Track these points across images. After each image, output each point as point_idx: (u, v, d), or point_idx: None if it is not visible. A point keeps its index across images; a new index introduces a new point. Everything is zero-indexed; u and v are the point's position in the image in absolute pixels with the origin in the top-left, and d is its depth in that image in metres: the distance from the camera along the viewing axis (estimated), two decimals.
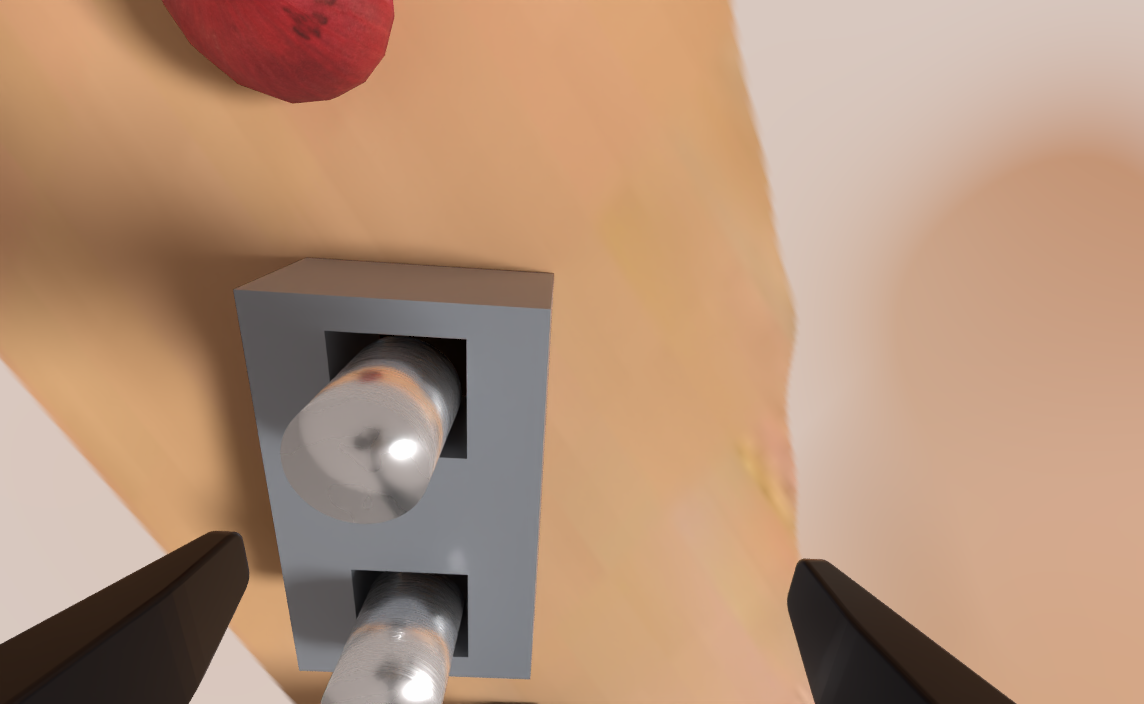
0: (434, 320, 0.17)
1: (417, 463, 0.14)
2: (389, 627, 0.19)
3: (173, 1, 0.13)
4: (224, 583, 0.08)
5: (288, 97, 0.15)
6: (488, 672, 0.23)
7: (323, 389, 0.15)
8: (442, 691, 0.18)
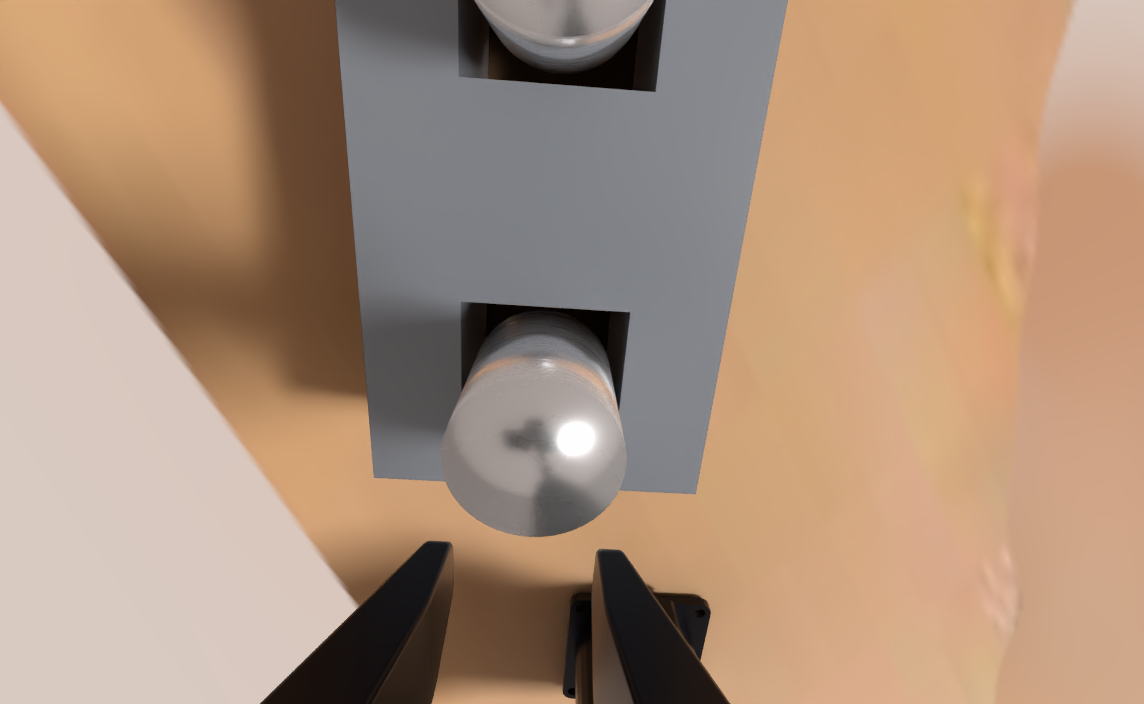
0: None
1: None
2: (538, 347, 0.12)
3: None
4: (446, 593, 0.08)
5: None
6: (638, 482, 0.16)
7: None
8: None
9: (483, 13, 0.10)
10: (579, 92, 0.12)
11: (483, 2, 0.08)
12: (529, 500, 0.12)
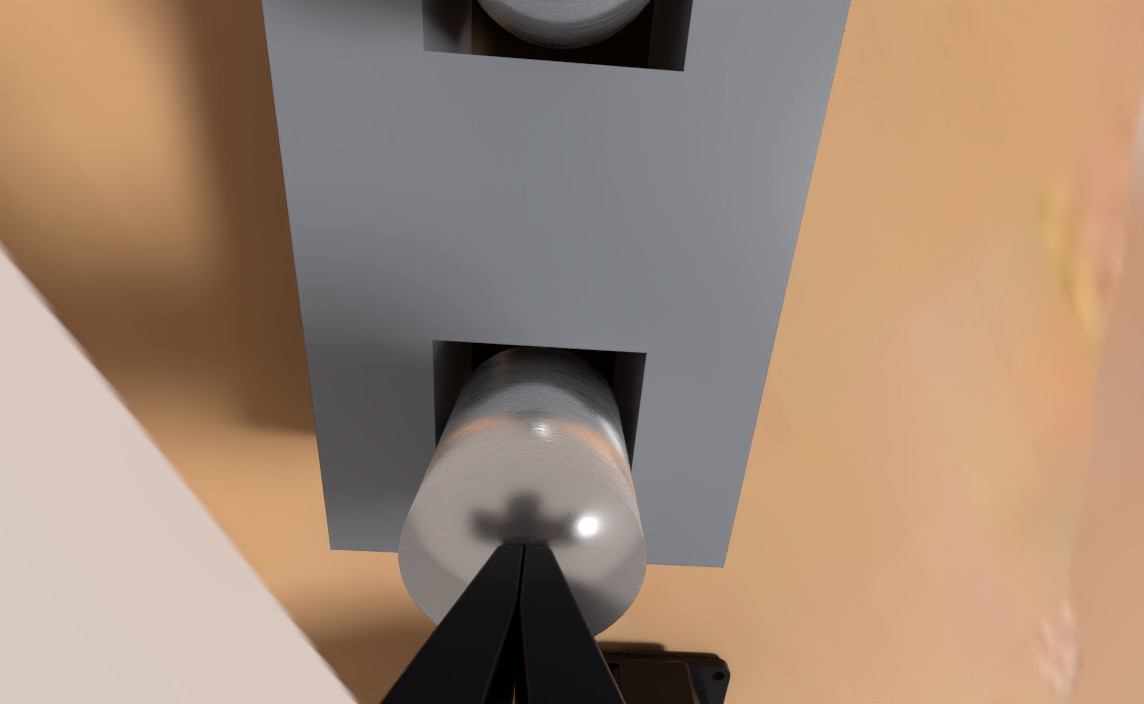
0: None
1: None
2: (529, 405, 0.09)
3: None
4: None
5: None
6: (654, 554, 0.13)
7: None
8: None
9: None
10: (583, 72, 0.09)
11: None
12: None
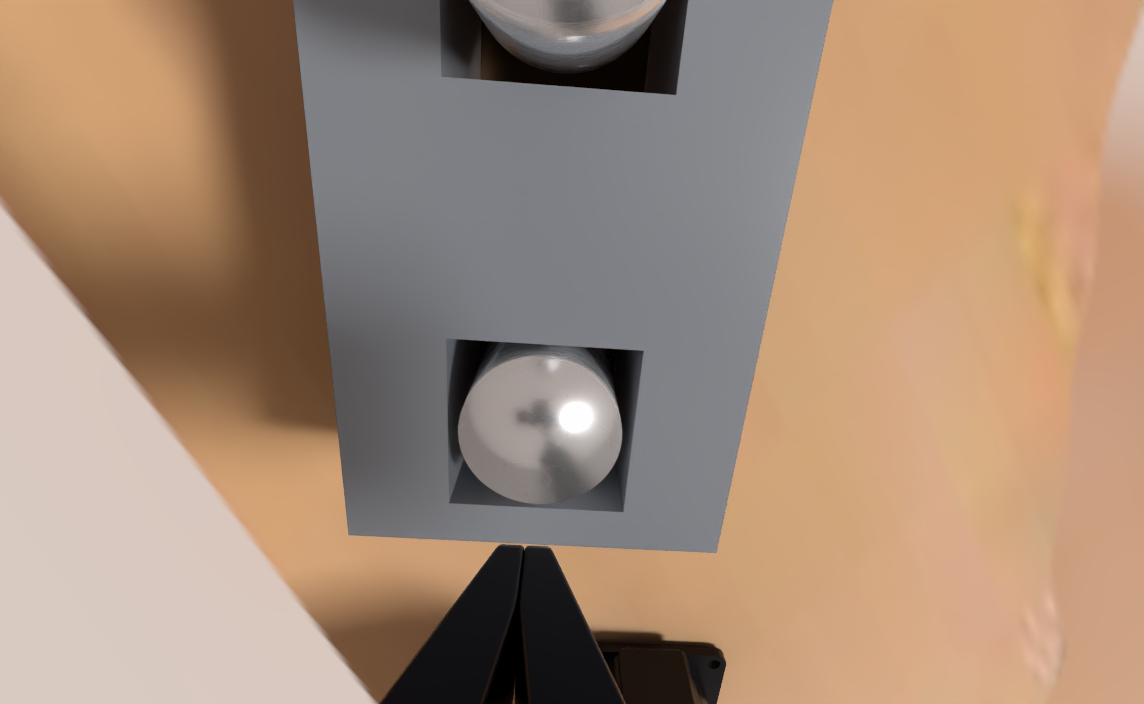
0: None
1: None
2: None
3: None
4: None
5: None
6: (651, 540, 0.14)
7: None
8: None
9: None
10: (585, 95, 0.10)
11: None
12: (536, 470, 0.13)
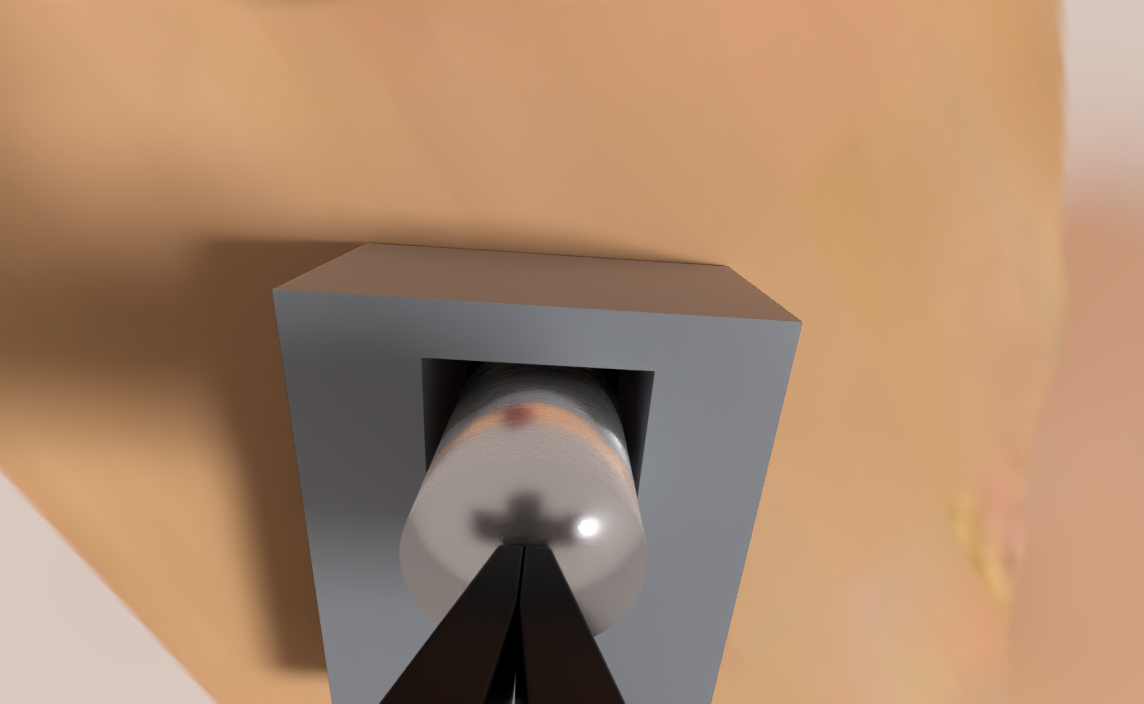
0: (606, 340, 0.10)
1: (627, 562, 0.09)
2: None
3: None
4: None
5: None
6: None
7: (460, 435, 0.09)
8: None
9: None
10: None
11: None
12: None
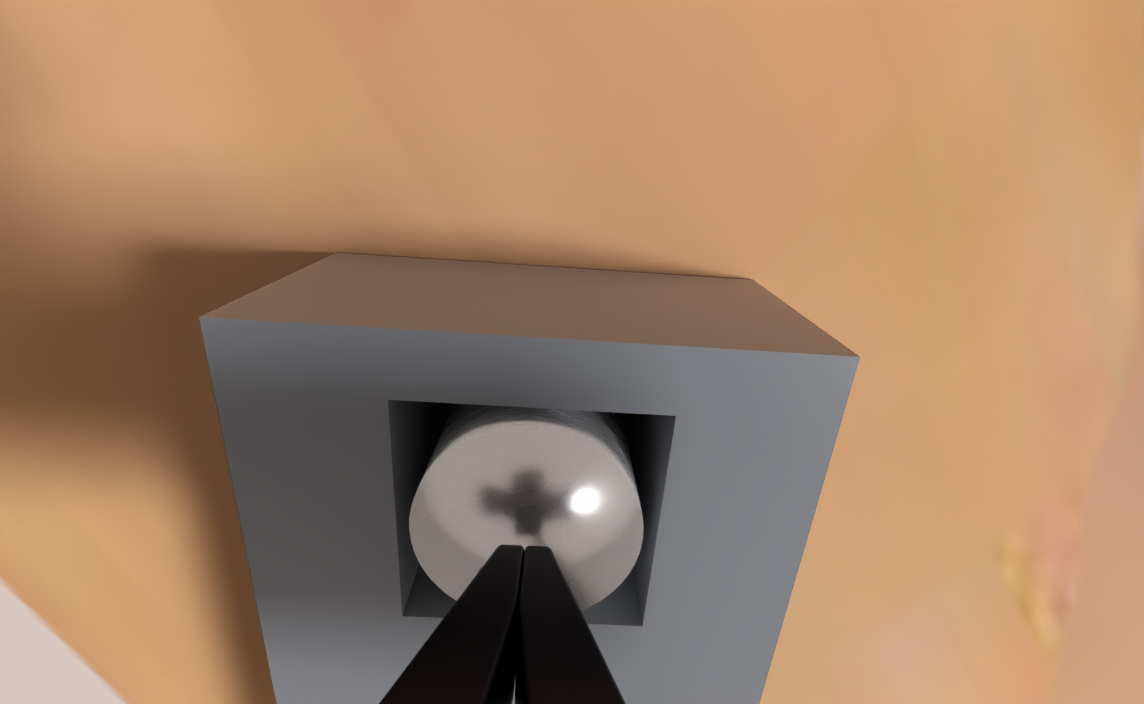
0: (616, 379, 0.08)
1: (624, 532, 0.09)
2: None
3: None
4: None
5: None
6: None
7: (466, 414, 0.10)
8: None
9: None
10: None
11: None
12: None
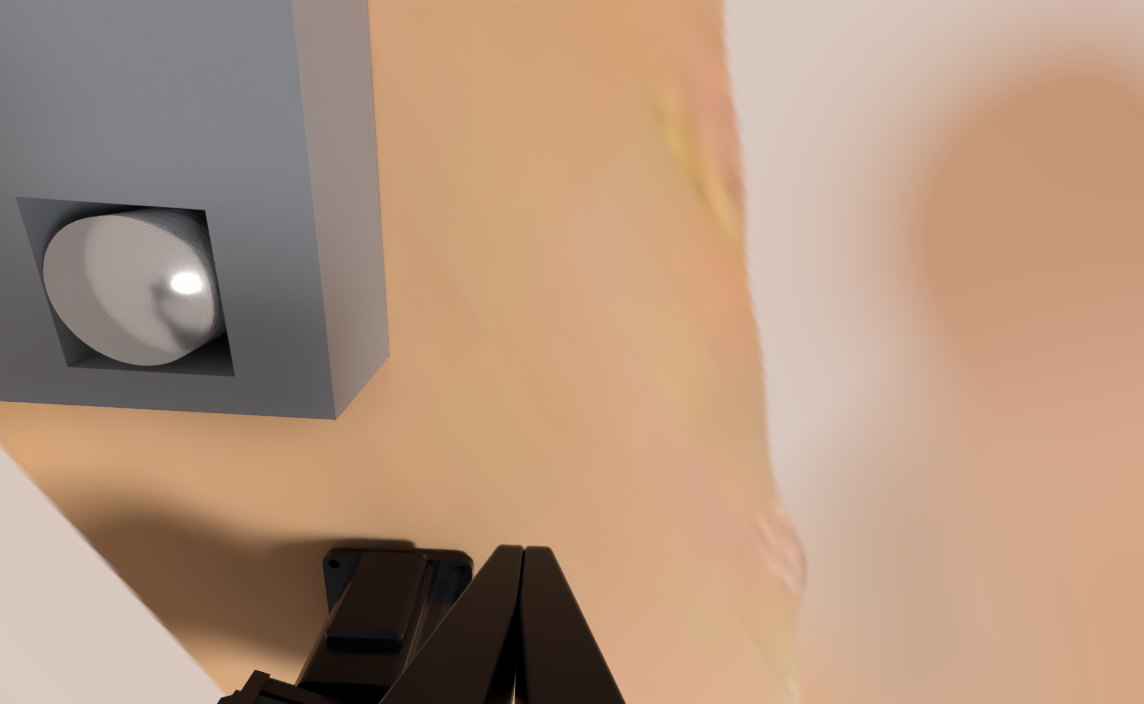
0: None
1: None
2: (152, 209, 0.15)
3: None
4: None
5: None
6: (270, 406, 0.15)
7: None
8: (216, 284, 0.14)
9: None
10: None
11: None
12: (131, 330, 0.14)
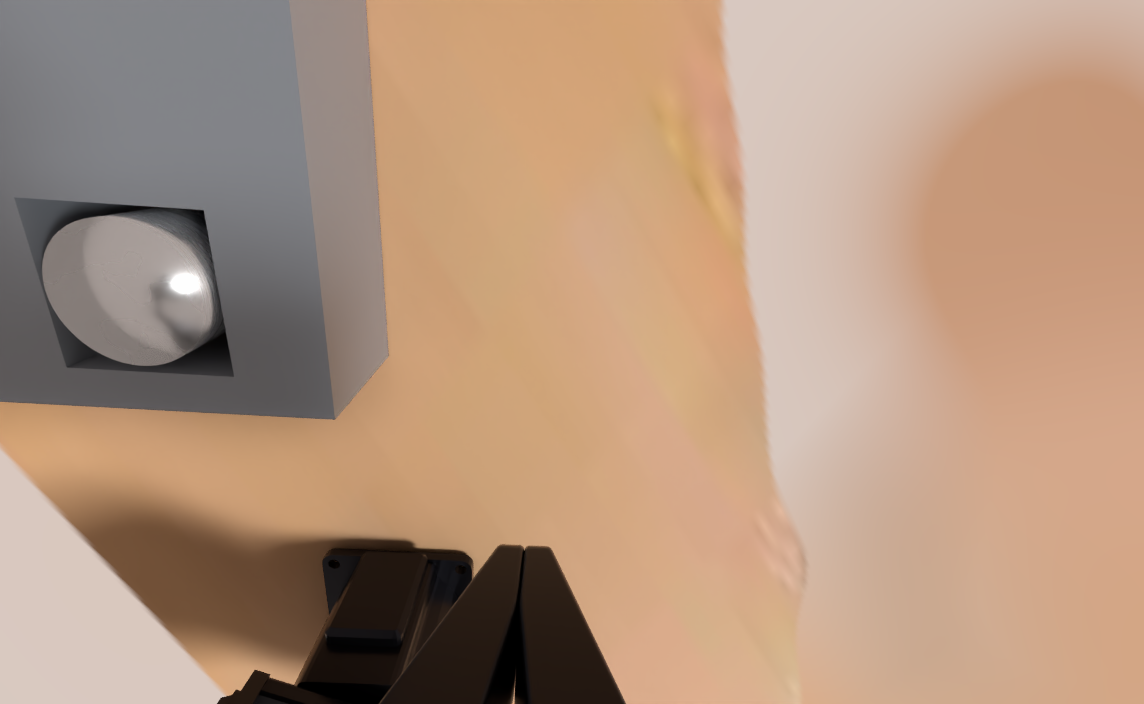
0: None
1: None
2: (151, 209, 0.15)
3: None
4: None
5: None
6: (269, 406, 0.15)
7: None
8: (215, 284, 0.14)
9: None
10: None
11: None
12: (130, 331, 0.14)
